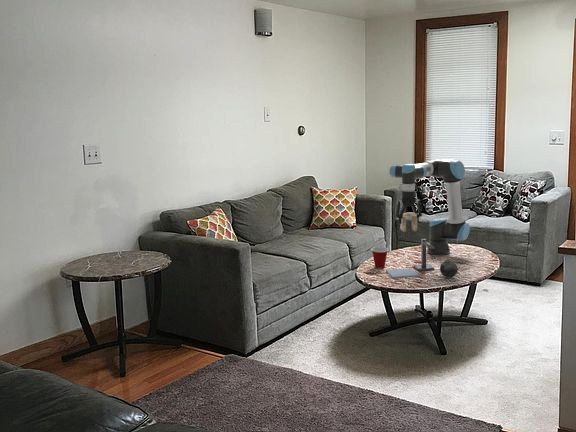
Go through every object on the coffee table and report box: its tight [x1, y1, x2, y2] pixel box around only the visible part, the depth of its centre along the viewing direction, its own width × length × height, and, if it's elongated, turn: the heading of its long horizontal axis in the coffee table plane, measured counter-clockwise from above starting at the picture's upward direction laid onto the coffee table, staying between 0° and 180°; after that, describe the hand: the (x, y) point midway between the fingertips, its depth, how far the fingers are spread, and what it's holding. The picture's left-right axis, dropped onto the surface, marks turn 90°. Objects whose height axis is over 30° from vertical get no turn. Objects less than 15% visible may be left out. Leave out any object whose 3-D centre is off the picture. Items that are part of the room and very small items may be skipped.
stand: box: [413, 238, 435, 272], centre depth 380 cm, size 10×22×18 cm, turn 5°
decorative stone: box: [439, 260, 458, 278], centre depth 365 cm, size 10×10×10 cm
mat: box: [385, 267, 420, 279], centre depth 377 cm, size 16×16×1 cm
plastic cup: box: [371, 246, 389, 269], centre depth 394 cm, size 11×11×12 cm
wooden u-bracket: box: [400, 211, 418, 233], centre depth 371 cm, size 8×5×10 cm, turn 96°
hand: (408, 228), depth 372 cm, fingers closed on wooden u-bracket, 8 cm apart
